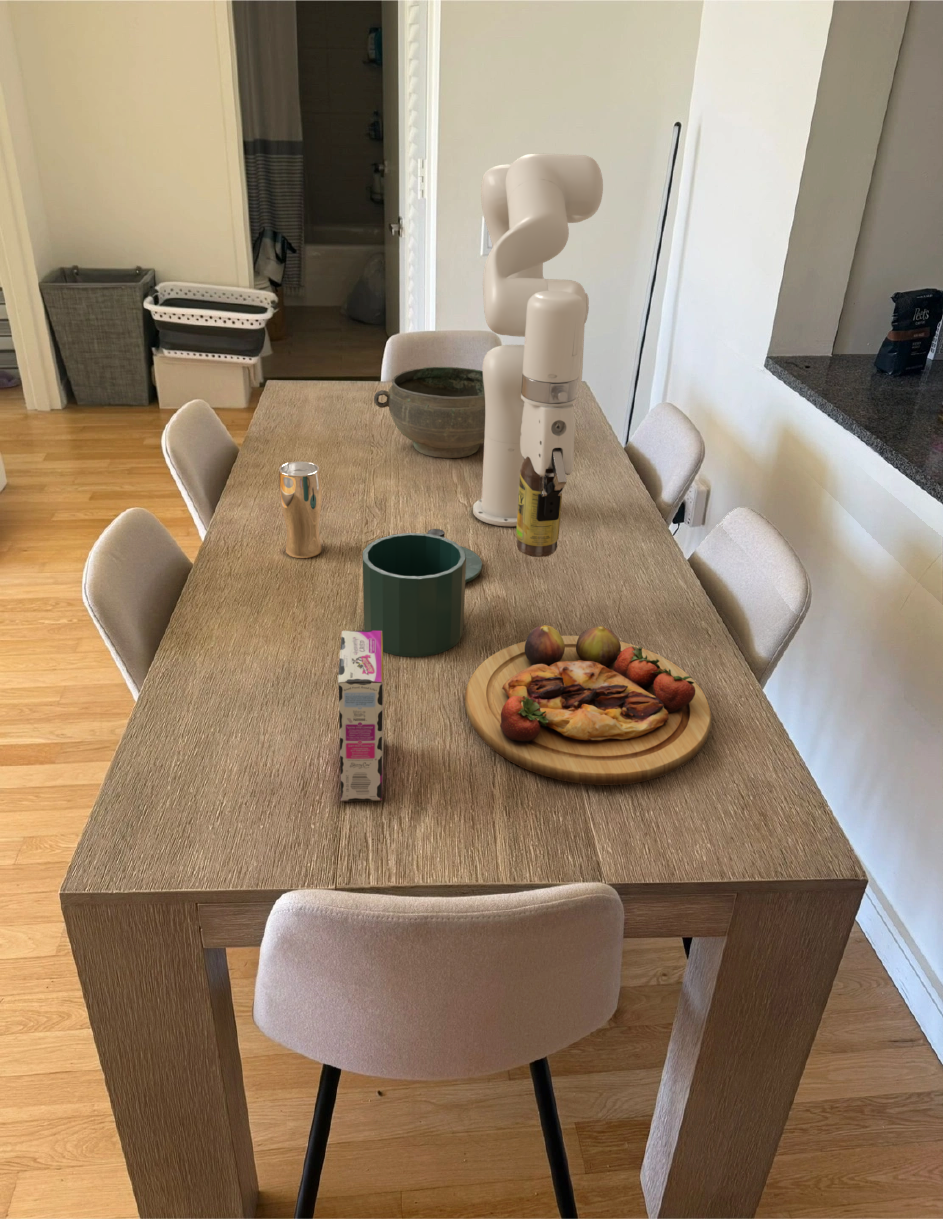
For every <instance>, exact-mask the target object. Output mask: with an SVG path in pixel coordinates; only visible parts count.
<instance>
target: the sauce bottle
mask: <svg viewBox="0 0 943 1219" xmlns="http://www.w3.org/2000/svg"><path fill="white" fill-rule="evenodd" d="M557 427H558V426H557ZM546 473H553V469H546ZM553 479H554V477H549V478H546V480H547V486H548V484H549V483H550V482H553ZM563 491H564V489H563V490H562V492H563ZM538 494H541V485H540V475H539V474H537V473H536V472H535V470H534V467H533V465H532V462H531V460H530V458H529V457H526V459H525V460H524V461H523V463H522V466H521V469H520V479H519V494H518V513H517V526H516V532H515V536H516V546H517V550H518V551H519V552H520V553H522V554H524V555H526V556H528V557H533V558H546V557H549V556H550V557H551V555H553V554H554V553H555V552H556V551H557V549H558V540H559V537H560V528H561V527H560V525H561V514H562V503H563V502H562V501H563V494H562V495H561V500H560V511H559V518H558V520H551V521H538V520H537V519H536V516H537V503H538Z"/></svg>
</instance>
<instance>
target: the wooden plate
mask: <svg viewBox="0 0 943 1219" xmlns="http://www.w3.org/2000/svg"><path fill="white" fill-rule="evenodd" d="M464 707H465V712H466V715H467V718H468V720H469V723H470V724H471V726H472V729H474V731H475V732H476V734H477V735H478V736H479V737H480V738H481V739H482V741H483V742H484V743H485V744H486V745H487V746H488V747H489V748H490V749H491V750H493V751H494V752H496V754H499V755H500V756H501V757H503V758H504V759H506V760H508V761H509V762H511V763H513V764H515V765H517V766H518V767H521V768H523V769H525V770H527V771H530V772H533V773H536V774H538V775H542V776H544V777H548V778H551V779H554V780H559V781H564V782H568V783H575V784H583V785H595V786H597V785H599V786H616V785H617V786H618V785H629V784H637V783H642V782H646V781H650V780H654V779H656V778H660V777H663V776H665V775H667V774H670V773H673V772H674V771H676V770H678V769H680V768H681V767H683V766H684V765H687V763H689V762H691V761H692V760H693V759H694V758H695V757H696V756H697V755H698V754H699V753H700V752H701V750H702V749H703V747H705V744H706V743H707V741H708V738H709V736H710V732H711V728H712V724H713V723H712V713H711V712H712V711H711V707H710V705H709V702H708V699H707V697H706V695H705V692H704V691H703V690H702V688H701V686H699V685H698V683H697V682H696V681H695V680H694V679H693V678H692V677H691V676H690V675H689V674H688V673H687V672H686V671H685V670H683V669H681V667H679V666H678V665H677V664H675V663H673V662H672V661H670V660H668V659H667V658H666V657H663V656H662V655H659V654H657V653H656V652H653V651H651V650H649V649H647V648H643V647H641V646H637V645H634V644H631V643H629V642H628V643H627V642H623V641H620V639H619V637H618V636H617V634H616V633H615V632H614V631H612V630H611V629H609V628H607V627H604V625H598V626H593V627H590V628H588V629H586V630H584V631H582V633H581V634H580V635H561V634H560V632H559V631H558V630H557V629H556V628H555V627H553V626H550V625H546V624H545V625H543V624H542V625H538V626H537V627H535V628H533V629H532V630H531V631H530V633H529V634H528V636H527V638H526V640H525V641H521V642H518V643H515V644H513V645H510V646H507V647H505V648H503V649H500V650H499V651H497V652H495V653H493V654H492V655H490V656H489V657H486V659H485V660H483V661H482V662H481V663H480V664H479V665H478V666H477V668H476V669H475V670H474V672H473V673H472V675H471V676H470V678H469V680H468V682H467V684H466V688H465V693H464Z"/></svg>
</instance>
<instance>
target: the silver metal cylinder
mask: <svg viewBox="0 0 943 1219" xmlns="http://www.w3.org/2000/svg"><path fill="white" fill-rule="evenodd" d="M322 492H323V489H322V478H321V472H320V466H319V465H318V464H316V463H314V462H310V461H304V460H303V461H302V460H301V461H299V460H298V461H297V460H296V461H289V462H285V463H284V464H282V465H279V468H278V497H279V502H280V507H281V513H282V515H283V518H284V520H283V521H284V523H285V528H286V542H285V553H286V554H287V555H288V556H290V557H292V558H296V559H309V558H314V557H316V556H318V555H319V554H321V552H322V551H323V550H322V549H323V548H322V543H321V538H320V534H319V526H320V517H321V510H322V501H323V493H322Z"/></svg>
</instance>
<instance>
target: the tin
mask: <svg viewBox="0 0 943 1219" xmlns="http://www.w3.org/2000/svg"><path fill="white" fill-rule="evenodd" d="M460 546H461V545H459V544H458V543H457V542H456V541H453V540H451V539H449V538H447V537H445V538H444V537H441V536H436V535H431V534H428V533H423V532H422V533H420V532H404V533H393V534H390V535H387V536H383V537H379V538H377V539H375V540H374V541H371V542H370V543H368V544H367V545H366V547H365V548H364V549H363V551H362V555H361V556H362V596H363V597H362V598H363V600H362V601H363V631H382V640H383V653H386V654H389V655H393V656H398V657H405V658H406V657H407V658H422V657H430V656H435V655H438V654H442V653H444V652H447V651H449V650H451V649H453V648H454V647H455V646H456V645H457V644H458V643H459V642H460V641H461V639H462V637H463V634H464V633H463V632H464V626H465V625H464V624H465V601H466V599H465V598H466V583H465V577H466V555H465V552H464V549H463V548H461V547H460Z"/></svg>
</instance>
